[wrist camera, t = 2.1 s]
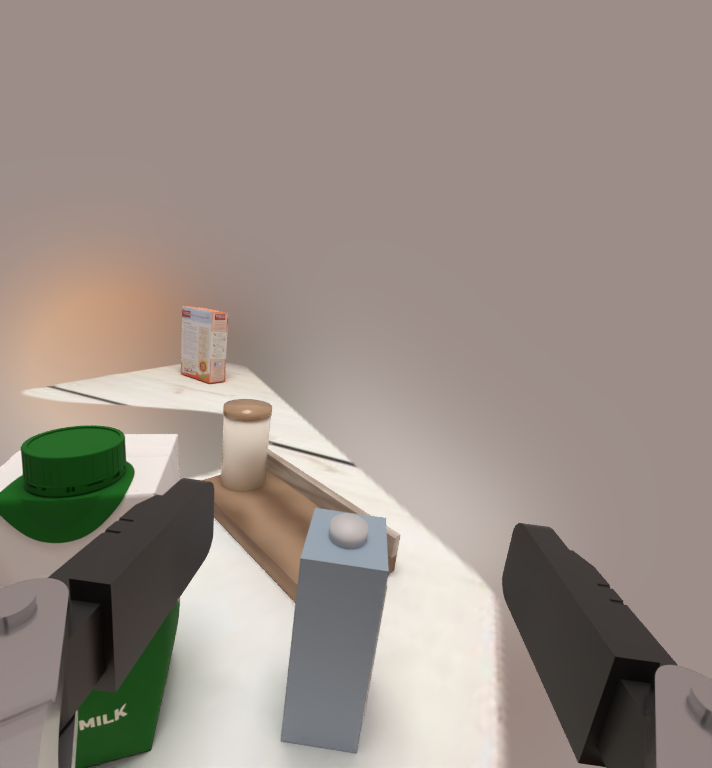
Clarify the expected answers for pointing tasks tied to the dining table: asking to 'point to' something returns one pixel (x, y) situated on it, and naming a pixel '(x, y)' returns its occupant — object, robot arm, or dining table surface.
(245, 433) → the jar
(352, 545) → the tea tin
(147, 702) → the milk carton
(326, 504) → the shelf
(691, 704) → the robot arm
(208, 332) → the cracker box
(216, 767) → the dining table surface
